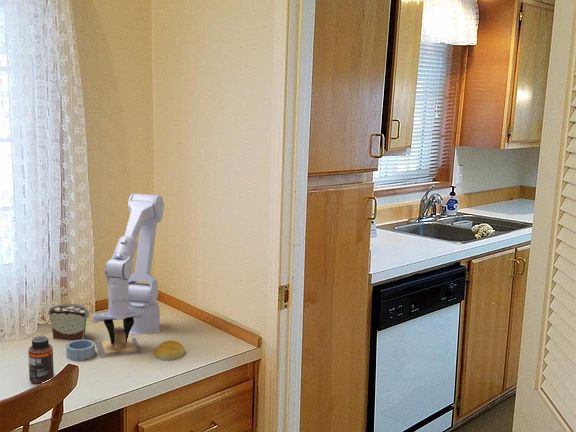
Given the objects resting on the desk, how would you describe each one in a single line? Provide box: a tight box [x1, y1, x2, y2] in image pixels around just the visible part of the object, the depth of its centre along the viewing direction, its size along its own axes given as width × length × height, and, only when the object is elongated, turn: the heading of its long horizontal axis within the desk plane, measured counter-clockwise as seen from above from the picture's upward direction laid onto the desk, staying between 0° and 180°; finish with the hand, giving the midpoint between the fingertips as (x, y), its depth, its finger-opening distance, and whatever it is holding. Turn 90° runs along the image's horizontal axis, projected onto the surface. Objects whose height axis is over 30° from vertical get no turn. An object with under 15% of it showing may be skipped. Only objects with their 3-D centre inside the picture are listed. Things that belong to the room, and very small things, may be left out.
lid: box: [100, 326, 137, 355], centre depth 180 cm, size 9×9×5 cm
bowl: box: [65, 338, 96, 362], centre depth 174 cm, size 8×8×4 cm
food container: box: [47, 303, 90, 341], centre depth 187 cm, size 12×6×10 cm, turn 84°
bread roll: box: [153, 339, 185, 361], centre depth 178 cm, size 8×9×4 cm
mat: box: [94, 337, 144, 359], centre depth 181 cm, size 12×12×1 cm
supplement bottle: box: [27, 335, 55, 385], centre depth 158 cm, size 6×6×11 cm
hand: (118, 342), depth 181 cm, fingers open, 3 cm apart
